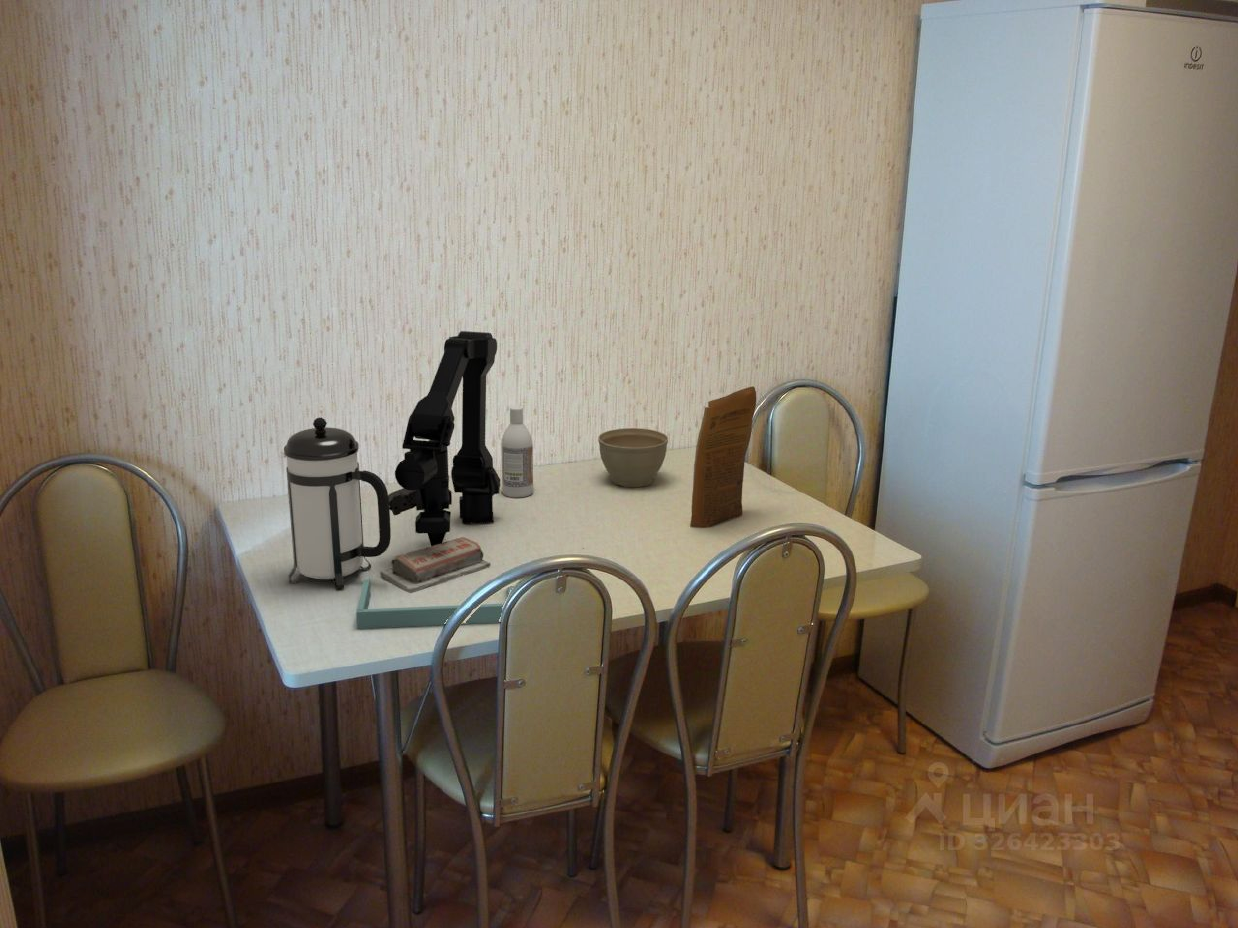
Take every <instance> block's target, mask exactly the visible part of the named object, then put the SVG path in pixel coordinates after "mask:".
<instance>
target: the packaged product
mask: <svg viewBox="0 0 1238 928" xmlns="http://www.w3.org/2000/svg"><path fill="white" fill-rule="evenodd" d="M483 558H484V552H483V551H482V548H481V546H480V545H479V543H478V542H476V541H474V540H471V539H470V538H467V537H464V536H461V537H459V538H454V539H451V540H447V541H443V542H442V543H440V544H437V545H433V546H431V545H430V546H426V547H424V548H421V549H418V550H414V551H411V552H410V551H409V552H407V553H404V554H403V553H402V554H401V555H397V556H394V557H393V558H392V559H391V567H388V568H385V569H382V570H380V571H379V573H380V576H381V578H382V579H384V580H386V581H388V582H389V583H391V584H393V585H394V586H397V587H398V588H400V589H403V590H404V591H406V592H408V593H411V594H412V593H415V592H418V591H420V590H423V589H425V588H428V587H431V586H435V585H438V584H442V583H446V582H447V581H450V580H455V579H457V578H461V577H463V575H464V576H467V575H469V574H472V573H475V572H478V571H479V570H480V569H481V570H483V568H484V569H487V568H490V567H491V562H488V561H487V560H485V559H483ZM489 566H490V567H489ZM486 567H487V568H486ZM474 571H475V572H474Z"/></svg>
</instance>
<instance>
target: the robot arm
mask: <svg viewBox="0 0 1238 928" xmlns="http://www.w3.org/2000/svg"><path fill="white" fill-rule="evenodd" d="M497 352H498V340H497V338H494V337H493V334H492V333H491V332H482V331H481V332H480V331H468V330H467V331H465V330H461V331H459V333H458V335H455V336H449V337H448V338H447V339H446V340H445V342H444V345H443V354H442V357H441V359H440V362H439V364H438V368H437V371H436V372H435V375H434V378H433V379H432V380H433V381H432V384H431V386H430V389H429V391H428V392H427V395H425V396H424V397H423V398H422V399H420V400H419V401H418V402H417V403H416V405H415V407H414V409H413V410H412V412H411V414H410V415H409V418H408V421H407V426H406V430H405V432H404V433H405V434H404V437H403V441H402V442H403V443H402V445H401V446H402V447H401V448H402V449H404V450H409V451H406V452H405V453H404V459H403V460H401V461H400V462H399V463H398V464H397V465H396V467H395V471H394V477H395V480H396V482H397V484H398V485H399V486H400V487H401V489H398V490H395V491H392V492H391V493H388V498H389V509H390V511H391V512H392V515H393V516H398V515H401V513H403V512H406V511H409V510H411V509H414V508H415V511H417V512H418V511H420V512H419V513H418V515H417V516H416V517H415V521H414V528H415V529H414V532H415V533H416V534H418V535H419V534H427V537H428V540H429V541H428V542H429V544H430V546H433V545H437V544H440V543H443V542H444V539H445V536H446V534H447V533H450V532H451V514H452V512H451V511H450V510H449V509H450V505H452V503H453V499H452V498H453V497H452V493H453V492H454V493H461V495H460V496H459V500H458V501H459V519H461V522H462V524H463V525H469V524H470V525H471V524H472V525H475V524H476V525H478V524H493V523H494V521H495V517H494V508H493V505H494V504H493V503H494V502H493V496H494V495H499V494H500V491H501V490H500V488H501V478H500V477H499V474H498V472H497V471H496V469H495V468H494V459H493V458H494V457H493V456H492V455H491V452H490V451H489V449H488V447H487V446H486V424H487V423H486V415H487V414H486V413H487V411H486V410H487V375H488V374H489V372H490V370H491V369H492V367H493V365H494V364H495V362H496V361H495V359H496V355H497ZM461 382H462V401H461V402H462V405H461V406H462V408H461V409H462V412H461V416H462V417H461V418H462V419H461V422H462V423H461V447H460V449H459V450H458V452H457V453H456V454H455V455H454V456H453V458H452V467H451V470H450V472H451V473H450V475H449V454H448V453H449V451H448V447H449V446H450V445H451V439H452V437H453V433H454V429H455V423H454V422H455V415H454V413H453V409H452V408H453V404H454V401H455V399H456V396H457V393H458V390H459V387H460V384H461ZM414 438H415V439H414ZM450 477H451V481H452V486H453V492H452V490H451V489H450V486H449V485H450V483H449V482H450Z"/></svg>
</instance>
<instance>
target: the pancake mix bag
mask: <svg viewBox="0 0 1238 928" xmlns="http://www.w3.org/2000/svg"><path fill="white" fill-rule="evenodd" d="M707 405H708V406H706V407H704V411H703V417H702V418H701V419H702V420H701V424H700V428H699V433H698V436H697V440H696V442H697V443H696V448H695V457H694V464H693V479H692V481H693V483H692V493H691V495H692V496H691V517H690V524H689V527H691V528H701V529H702V528H711V527H713V526H716V525H719V524H722V523H724V522H727V521H730V520H732V519H736V518H739V517H742V515H743V514H744V513H743V503H742V502H743V500H742V499H743V482H744V473H745V472H744V470H745V462H746V461H745V460H746V455H747V452H748V448H749V446H750V445H749V444H750V441H751V436H752V426H753V419H754V415H755V411H756V406H757V391H756V387H755V386H749V387H745V388H742V389H739V390H737V391H734V392H732V393H730V394H728V395H726V396H722V397H719V398H716V399H711V400H709V401H707Z"/></svg>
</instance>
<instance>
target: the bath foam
mask: <svg viewBox="0 0 1238 928" xmlns="http://www.w3.org/2000/svg"><path fill="white" fill-rule="evenodd" d="M500 444H501V445H500V447H501V489H502V490H501V491H502V494H503V495H504V496H506V497H508V498H519V499H520V498H525V497H529V496H530V495H532V494H533V492H534V456H533V455H534V453H533V451H534V450H533V449H534V448H533V447H534V446H533V445H534V444H533V438H532V435H531V433H530V431H529V429H528V427H526V425H525V423H524V407H523V406H520V405H513V406H511V407H509V424H508V426H507V428H505V431H504V432H503V434H502V437H501V443H500Z"/></svg>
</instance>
